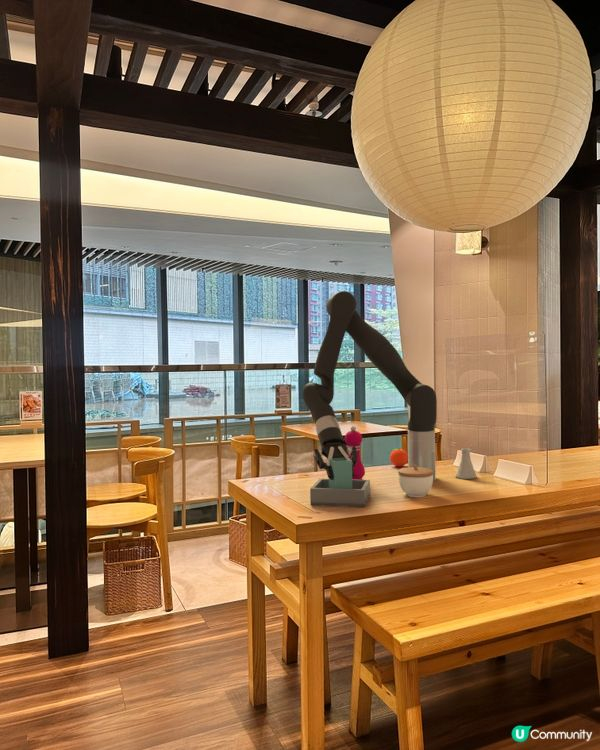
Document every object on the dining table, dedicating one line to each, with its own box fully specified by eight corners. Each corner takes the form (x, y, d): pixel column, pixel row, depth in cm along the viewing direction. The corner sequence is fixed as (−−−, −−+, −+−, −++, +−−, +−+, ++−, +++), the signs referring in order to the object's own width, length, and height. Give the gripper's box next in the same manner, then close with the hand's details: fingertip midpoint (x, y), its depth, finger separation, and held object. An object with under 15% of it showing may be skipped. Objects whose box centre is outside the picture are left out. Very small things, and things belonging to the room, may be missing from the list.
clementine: (385, 467, 231) (384, 449, 231) (390, 464, 237) (390, 446, 237) (405, 468, 227) (404, 450, 227) (410, 465, 233) (410, 447, 233)
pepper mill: (364, 487, 198) (362, 427, 197) (342, 487, 199) (341, 427, 198) (366, 482, 205) (364, 424, 204) (345, 482, 206) (343, 424, 205)
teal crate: (346, 489, 185) (345, 457, 185) (352, 493, 180) (351, 460, 179) (329, 490, 184) (328, 458, 183) (334, 494, 178) (334, 461, 178)
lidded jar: (399, 499, 182) (398, 468, 181) (398, 490, 192) (397, 462, 192) (435, 499, 180) (434, 468, 180) (432, 491, 191) (431, 462, 191)
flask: (480, 477, 210) (480, 448, 210) (471, 480, 205) (471, 451, 204) (461, 474, 215) (460, 446, 215) (451, 478, 209) (451, 449, 209)
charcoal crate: (370, 495, 187) (369, 479, 187) (364, 507, 173) (364, 490, 173) (320, 494, 191) (319, 478, 190) (310, 505, 177) (310, 488, 177)
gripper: (309, 427, 186) (322, 472, 175) (353, 424, 190) (367, 469, 179) (305, 441, 192) (317, 486, 181) (347, 439, 195) (361, 482, 184)
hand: (342, 477), depth 180 cm, fingers closed on teal crate, 5 cm apart
